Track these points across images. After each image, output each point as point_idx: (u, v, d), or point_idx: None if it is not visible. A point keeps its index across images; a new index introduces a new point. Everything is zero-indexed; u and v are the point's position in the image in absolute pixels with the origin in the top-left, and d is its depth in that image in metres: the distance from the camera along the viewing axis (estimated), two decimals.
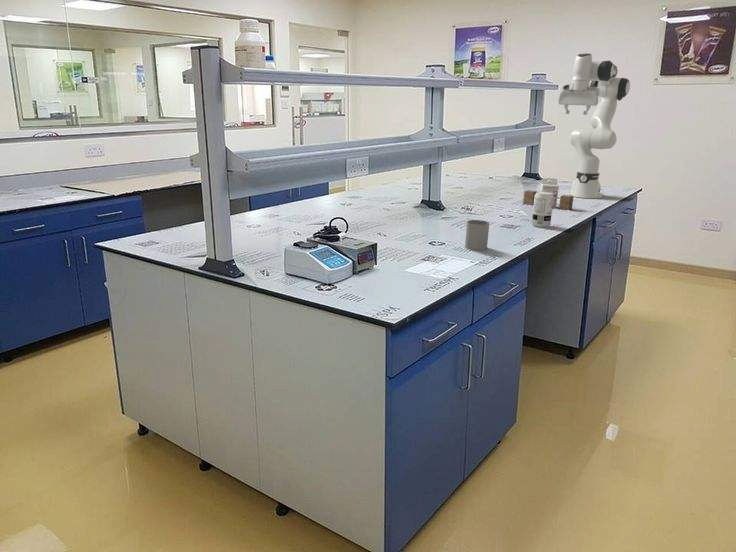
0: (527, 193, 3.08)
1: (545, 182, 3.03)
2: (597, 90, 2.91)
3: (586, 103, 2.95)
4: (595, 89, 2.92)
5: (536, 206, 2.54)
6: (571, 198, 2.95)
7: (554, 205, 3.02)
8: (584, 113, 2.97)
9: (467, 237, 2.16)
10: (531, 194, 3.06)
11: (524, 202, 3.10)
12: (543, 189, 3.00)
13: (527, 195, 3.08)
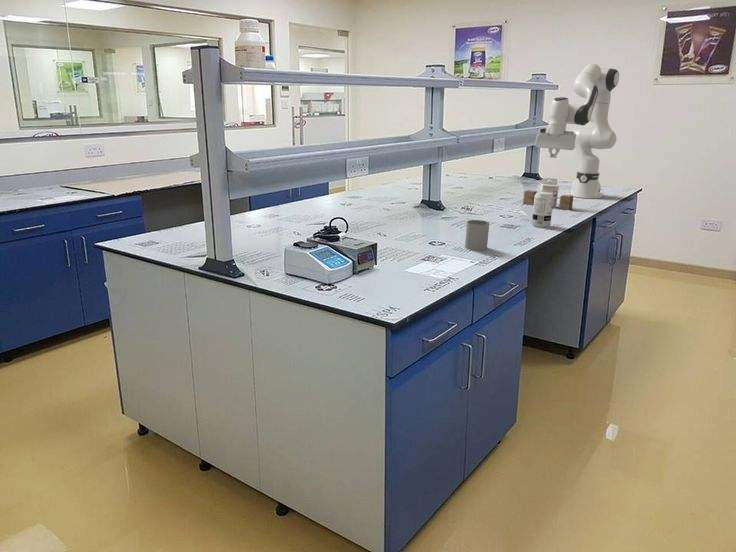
0: (527, 193, 3.08)
1: (545, 182, 3.03)
2: (574, 135, 2.87)
3: (563, 147, 2.91)
4: (572, 133, 2.88)
5: (536, 206, 2.54)
6: (571, 198, 2.95)
7: (554, 205, 3.02)
8: (553, 156, 2.96)
9: (467, 237, 2.16)
10: (531, 194, 3.06)
11: (524, 202, 3.10)
12: (543, 189, 3.00)
13: (527, 195, 3.08)
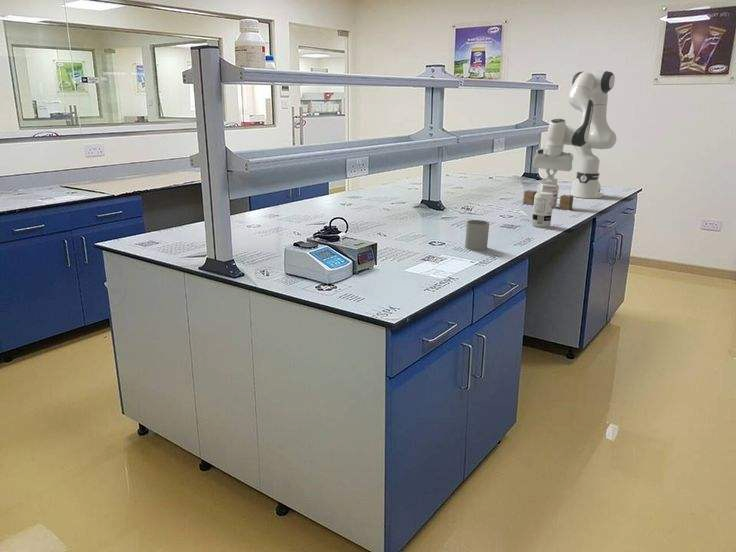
0: (527, 193, 3.08)
1: (545, 182, 3.03)
2: (571, 156, 2.90)
3: (560, 168, 2.94)
4: (569, 155, 2.91)
5: (536, 206, 2.54)
6: (571, 198, 2.95)
7: (554, 205, 3.02)
8: (551, 177, 2.99)
9: (467, 237, 2.16)
10: (531, 194, 3.06)
11: (524, 202, 3.10)
12: (543, 189, 3.00)
13: (527, 195, 3.08)
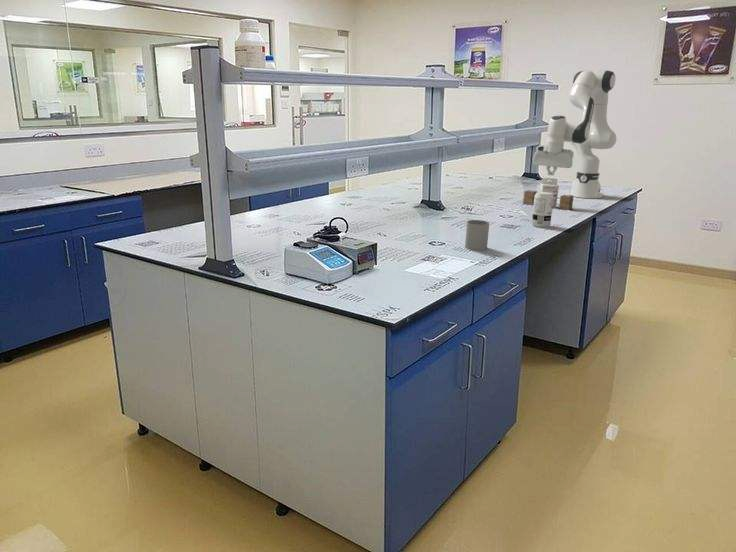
0: (527, 193, 3.08)
1: (545, 182, 3.03)
2: (571, 153, 2.90)
3: (560, 165, 2.93)
4: (569, 152, 2.90)
5: (536, 206, 2.54)
6: (571, 198, 2.95)
7: (554, 205, 3.02)
8: (551, 174, 2.98)
9: (467, 237, 2.16)
10: (531, 194, 3.06)
11: (524, 202, 3.10)
12: (543, 189, 3.00)
13: (527, 195, 3.08)
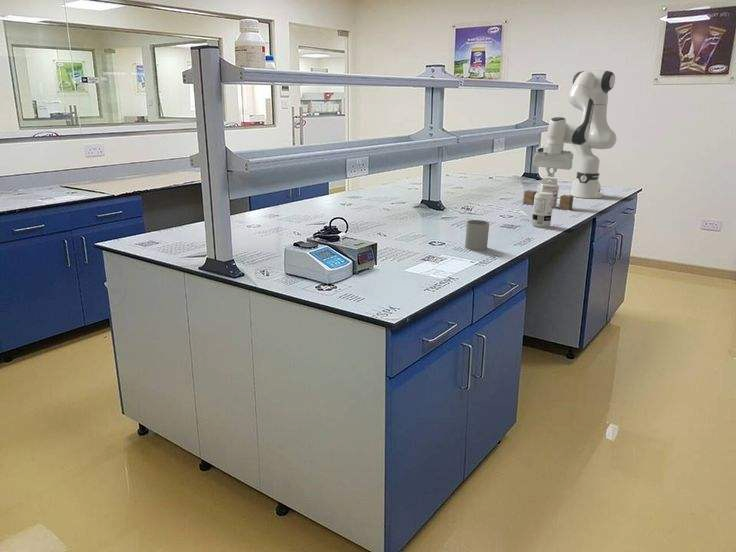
0: (527, 193, 3.08)
1: (545, 182, 3.03)
2: (571, 154, 2.90)
3: (560, 167, 2.94)
4: (569, 153, 2.91)
5: (536, 206, 2.54)
6: (571, 198, 2.95)
7: (554, 205, 3.02)
8: (551, 175, 2.99)
9: (467, 237, 2.16)
10: (531, 194, 3.06)
11: (524, 202, 3.10)
12: (543, 189, 3.00)
13: (527, 195, 3.08)
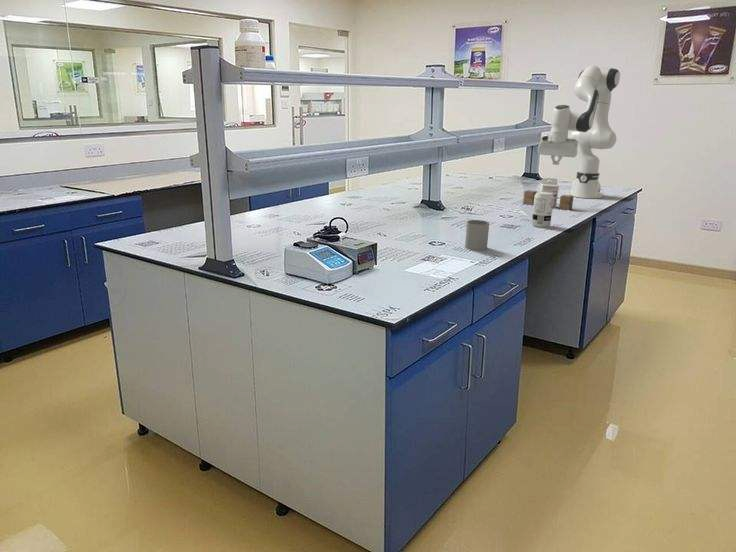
0: (527, 193, 3.08)
1: (545, 182, 3.03)
2: (575, 142, 2.91)
3: (565, 155, 2.95)
4: (573, 141, 2.92)
5: (536, 206, 2.54)
6: (571, 198, 2.95)
7: (554, 205, 3.02)
8: (556, 163, 3.00)
9: (467, 237, 2.16)
10: (531, 194, 3.06)
11: (524, 202, 3.10)
12: (543, 189, 3.00)
13: (527, 195, 3.08)
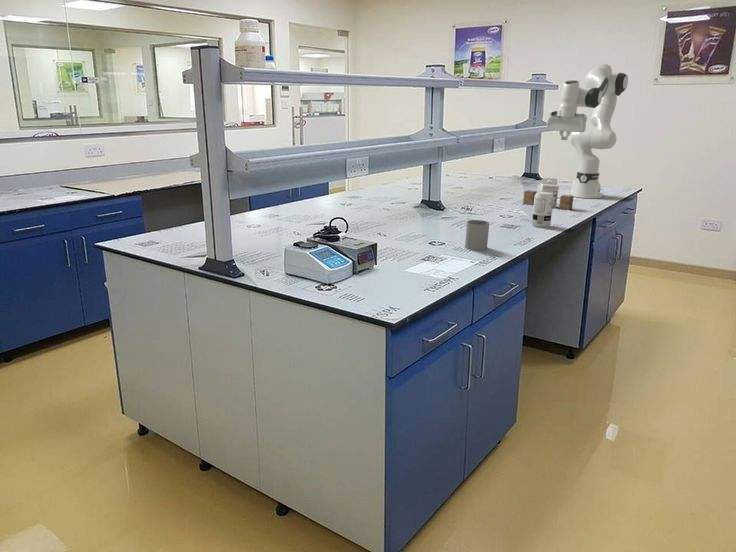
0: (527, 193, 3.08)
1: (545, 182, 3.03)
2: (584, 117, 2.94)
3: (574, 129, 2.97)
4: (582, 116, 2.94)
5: (536, 206, 2.54)
6: (571, 198, 2.95)
7: (554, 205, 3.02)
8: (564, 139, 3.02)
9: (467, 237, 2.16)
10: (531, 194, 3.06)
11: (524, 202, 3.10)
12: (543, 189, 3.00)
13: (527, 195, 3.08)
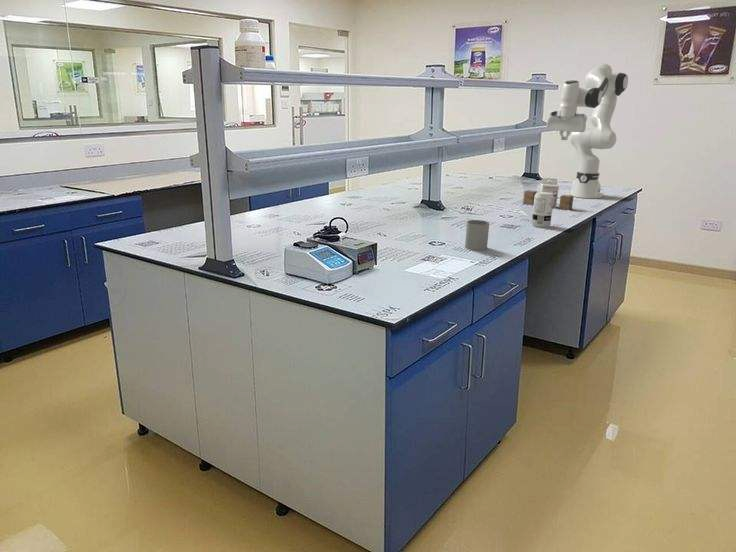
0: (527, 193, 3.08)
1: (545, 182, 3.03)
2: (584, 117, 2.94)
3: (574, 129, 2.97)
4: (582, 116, 2.94)
5: (536, 206, 2.54)
6: (571, 198, 2.95)
7: (554, 205, 3.02)
8: (564, 139, 3.02)
9: (467, 237, 2.16)
10: (531, 194, 3.06)
11: (524, 202, 3.10)
12: (543, 189, 3.00)
13: (527, 195, 3.08)
